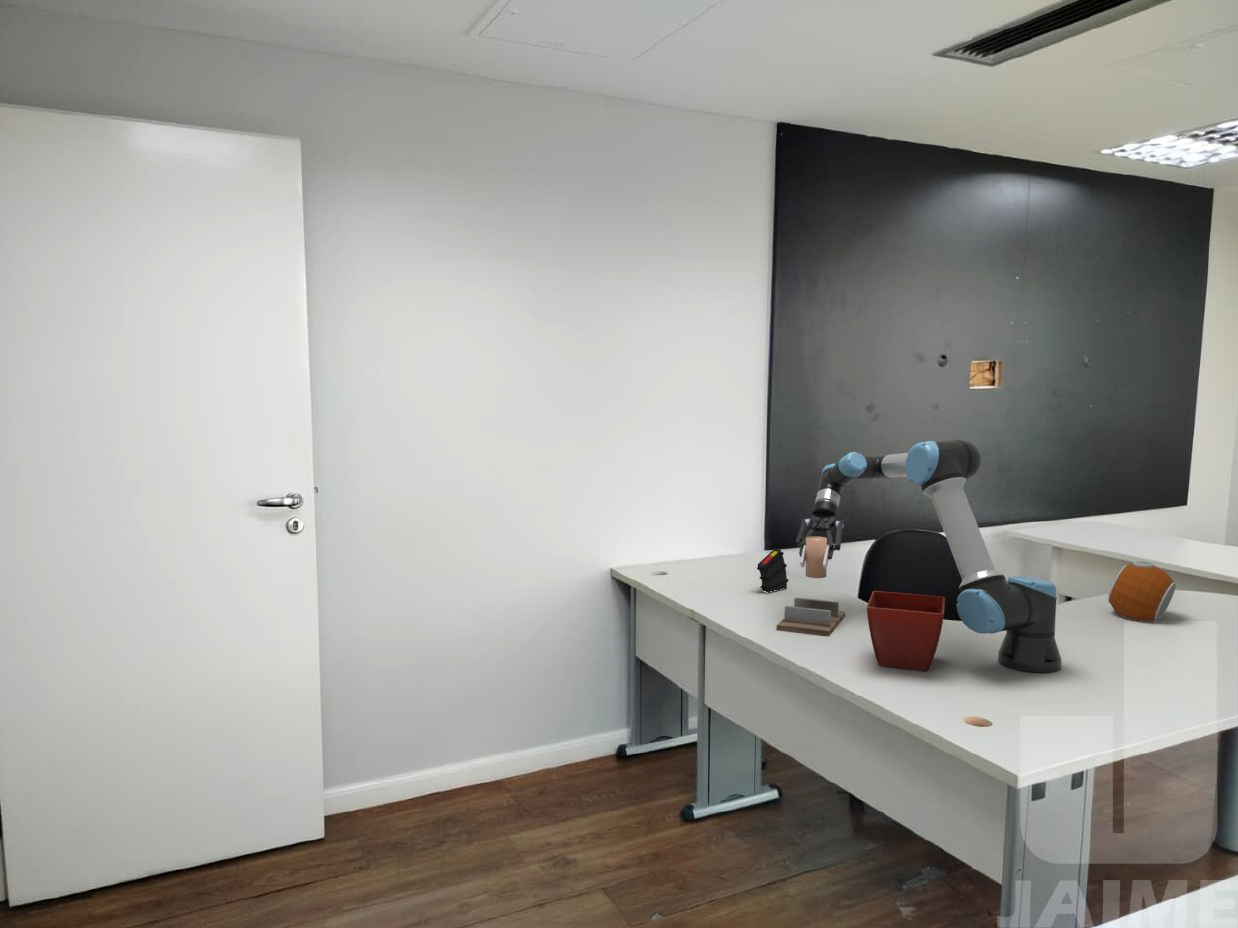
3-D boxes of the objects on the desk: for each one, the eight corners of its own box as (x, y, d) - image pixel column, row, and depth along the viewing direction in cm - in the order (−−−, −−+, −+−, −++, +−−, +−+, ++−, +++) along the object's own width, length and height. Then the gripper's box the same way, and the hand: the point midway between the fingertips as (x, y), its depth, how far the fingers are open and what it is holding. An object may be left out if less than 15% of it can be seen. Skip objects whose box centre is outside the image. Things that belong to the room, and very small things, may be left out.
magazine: (793, 583, 313) (782, 549, 308) (772, 603, 306) (760, 569, 301) (785, 581, 316) (774, 547, 311) (764, 601, 309) (752, 568, 304)
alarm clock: (1118, 605, 282) (1120, 554, 281) (1180, 615, 270) (1182, 561, 268) (1100, 617, 269) (1102, 563, 267) (1164, 627, 257) (1167, 571, 255)
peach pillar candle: (823, 579, 262) (824, 540, 260) (803, 577, 265) (803, 539, 263) (828, 574, 267) (829, 537, 266) (808, 572, 270) (808, 535, 269)
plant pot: (944, 655, 234) (945, 595, 233) (942, 677, 217) (943, 613, 215) (872, 648, 242) (873, 590, 240) (865, 669, 224) (865, 607, 222)
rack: (828, 636, 253) (829, 616, 253) (776, 629, 260) (776, 610, 260) (845, 616, 275) (845, 597, 274) (796, 610, 282) (796, 593, 281)
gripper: (858, 515, 273) (846, 575, 261) (799, 511, 282) (784, 569, 269) (855, 501, 268) (842, 561, 255) (794, 497, 277) (780, 556, 264)
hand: (813, 565), depth 262 cm, fingers closed on peach pillar candle, 6 cm apart
